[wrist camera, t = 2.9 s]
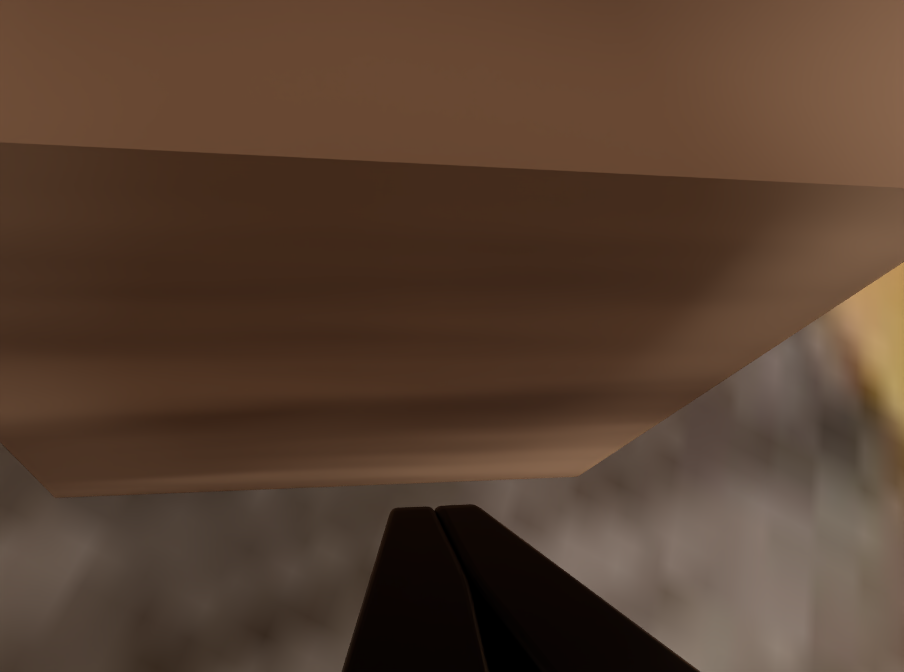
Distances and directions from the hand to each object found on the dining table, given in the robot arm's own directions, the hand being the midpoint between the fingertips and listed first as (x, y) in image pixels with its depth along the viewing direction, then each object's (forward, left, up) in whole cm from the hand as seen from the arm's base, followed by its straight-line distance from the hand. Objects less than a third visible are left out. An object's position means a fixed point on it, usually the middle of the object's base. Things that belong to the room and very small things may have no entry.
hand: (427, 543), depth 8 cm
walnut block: (+4, -1, -8) cm, 9 cm away
